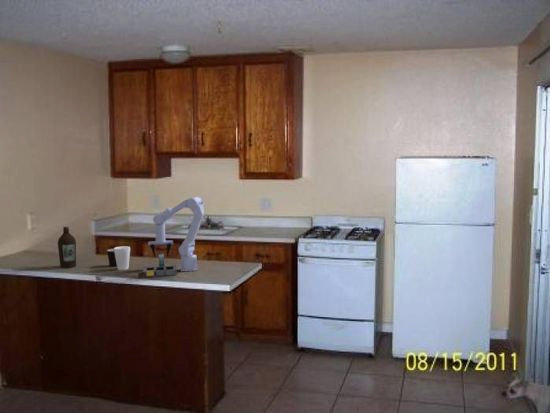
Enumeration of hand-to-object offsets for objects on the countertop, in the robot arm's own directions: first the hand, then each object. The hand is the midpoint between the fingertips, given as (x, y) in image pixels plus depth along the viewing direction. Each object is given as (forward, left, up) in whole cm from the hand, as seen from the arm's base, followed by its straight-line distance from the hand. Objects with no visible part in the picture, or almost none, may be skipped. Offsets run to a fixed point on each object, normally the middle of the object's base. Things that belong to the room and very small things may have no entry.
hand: (161, 256), depth 346 cm
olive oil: (+57, -22, -8) cm, 61 cm away
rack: (+1, +14, -8) cm, 16 cm away
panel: (0, 0, -8) cm, 8 cm away
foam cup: (+23, -6, -8) cm, 25 cm away
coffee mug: (+27, -17, -8) cm, 33 cm away
